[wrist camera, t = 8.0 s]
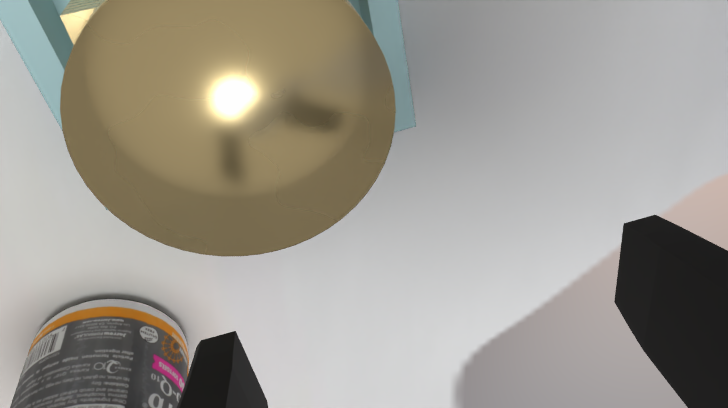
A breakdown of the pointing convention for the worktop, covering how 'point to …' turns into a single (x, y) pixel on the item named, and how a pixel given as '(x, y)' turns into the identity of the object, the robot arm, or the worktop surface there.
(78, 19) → the brass pin
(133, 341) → the pill bottle
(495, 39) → the worktop surface
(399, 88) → the tray
